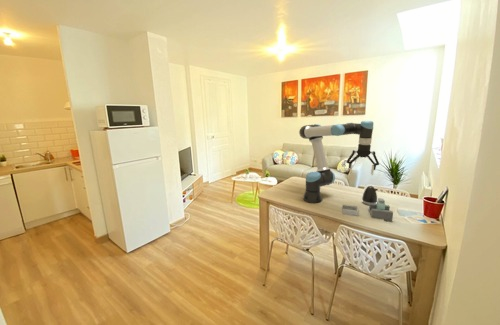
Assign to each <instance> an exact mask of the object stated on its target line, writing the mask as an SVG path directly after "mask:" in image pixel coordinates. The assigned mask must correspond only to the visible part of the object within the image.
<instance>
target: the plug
mask: <svg viewBox="0 0 500 325" xmlns="http://www.w3.org/2000/svg"><path fill="white" fill-rule="evenodd" d="M376 204H377V208H376V209H380V210H385V204H386V203H385V199H384V198H378V197H377V202H376Z"/></svg>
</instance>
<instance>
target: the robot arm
mask: <svg viewBox="0 0 500 325" xmlns="http://www.w3.org/2000/svg"><path fill="white" fill-rule="evenodd" d="M373 130H374V121H372V120H362V121H361V122H360V123H354V122H346V123H343V124H340V123H339V124H331V125H330V124H329V125H321V124H316V123H315V124H306V125H303V126H302V127H300V129H299V131H298V133H299V136H300V137H301V138H302V139H306V140H309V142H310V143H311V147H312V150H313V155H314V159H315V164H316V168H317V170H316V171H310V172H308V173H307V174H306V175H305V191H304V194H303V198H302V199H303V201H304V202H306V203H310V204H319V203H321V202H322V201H323V196H322V193H321V187H325V186H330V185H332V184H333V183H334V182H335V180H336V176H335V172H333V171H332V170H331V168H330V167H329V166H328V162H327V161H328V160H327V158H326V154H325V149H324V144H323V139H324V137H329V136H331V137H332V136H333V137H334V136H336V137H339V136H348V135H358V145H357V150H354V149H353V150H352V151H351V154H350V155H349V156H348V158H347V160H346V163H347V164H348V168H349V173H350V174H352V170H353V163H354V162H355V161H356V160H357V159H359V158H364V159H365V158H367V159H368V160H369V161H370V162H371V163H372V165H371V171H370V174H371V176H373V175H374V171H376V168H377V166H380V163H379V160H378V158H377V156H376V151H375V150H373V151H371V147H372V145H371V144H372V140H373V139H372V138H373V137H372V136H373ZM356 153H357V154H356ZM355 155H356V156H355ZM370 155H372V157H373V159H374V160H373V159H372V158H371V157H370Z"/></svg>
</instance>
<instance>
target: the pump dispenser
mask: <svg viewBox="0 0 500 325" xmlns="http://www.w3.org/2000/svg"><path fill="white" fill-rule="evenodd" d="M378 190H379V188H375V187H374V186H372V185H368V186H366V188H365V190H364V192H363V194H362V197H361V199H362V202H363V204H364V205H367V206H369V204H370V203H374V204H377V201H378V194H377V191H378Z"/></svg>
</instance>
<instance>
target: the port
mask: <svg viewBox="0 0 500 325" xmlns="http://www.w3.org/2000/svg"><path fill="white" fill-rule="evenodd" d="M376 208H377V203H376V204H374V203H370V204H369V205H368V212H369V215H370V218H372V219H378V220H383V221H386V222H391V223H392V222H393V217H394V211H393V210H390V208H391V207H390V204H387V203H385V210H380V209H376Z"/></svg>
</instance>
